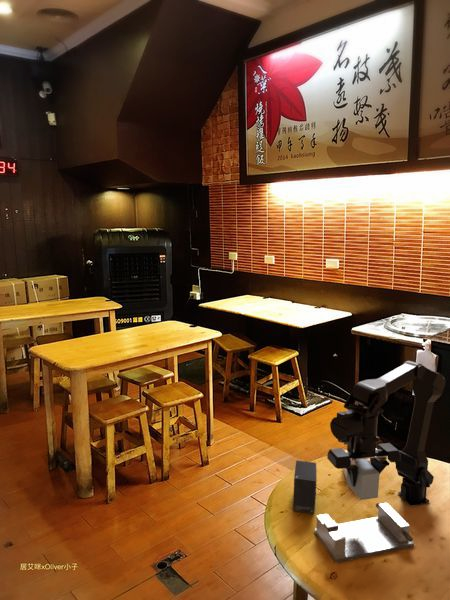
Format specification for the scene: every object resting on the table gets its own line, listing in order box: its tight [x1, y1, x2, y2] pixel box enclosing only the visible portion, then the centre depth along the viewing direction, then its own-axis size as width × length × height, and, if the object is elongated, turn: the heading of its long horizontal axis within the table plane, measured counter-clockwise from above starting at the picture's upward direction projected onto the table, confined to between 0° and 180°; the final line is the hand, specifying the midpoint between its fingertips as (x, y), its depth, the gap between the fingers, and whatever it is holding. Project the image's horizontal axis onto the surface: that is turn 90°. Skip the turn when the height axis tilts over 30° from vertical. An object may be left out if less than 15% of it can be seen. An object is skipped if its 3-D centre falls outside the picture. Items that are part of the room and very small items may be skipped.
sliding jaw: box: [375, 502, 414, 542], centre depth 126 cm, size 2×15×4 cm, turn 15°
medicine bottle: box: [342, 444, 371, 480], centre depth 154 cm, size 7×7×12 cm
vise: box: [314, 513, 415, 564], centre depth 124 cm, size 22×12×6 cm, turn 105°
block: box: [345, 459, 381, 501], centre depth 128 cm, size 5×8×7 cm, turn 13°
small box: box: [292, 459, 318, 514], centre depth 140 cm, size 11×6×10 cm, turn 168°
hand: (362, 484), depth 128 cm, fingers closed on block, 5 cm apart
